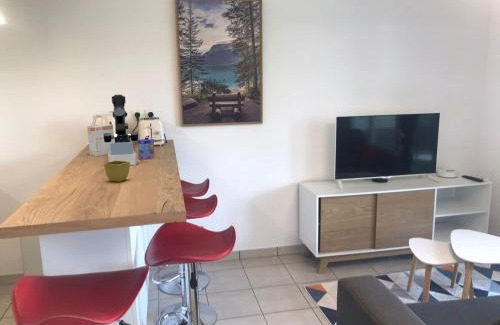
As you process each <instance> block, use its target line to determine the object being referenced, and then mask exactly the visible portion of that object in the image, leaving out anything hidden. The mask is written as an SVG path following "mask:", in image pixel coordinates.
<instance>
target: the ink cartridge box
mask: <svg viewBox="0 0 500 325" xmlns="http://www.w3.org/2000/svg"><path fill="white" fill-rule="evenodd" d="M154 142H155V139H154V138H150V135H146V136H145V137H144V138H142V139H138V141H137V149H138V150H137V151H138V155H137V156H138V160H141V161H147V160H150V159H154V158H155V143H154Z"/></svg>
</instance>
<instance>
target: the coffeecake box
mask: <svg viewBox="0 0 500 325" xmlns="http://www.w3.org/2000/svg"><path fill="white" fill-rule="evenodd" d="M86 128H87V134H88V135H87V136H88V147H89V148H88V150H89V156H90V157H96V158H97V157H103V156H108V153H109V154H110V152H111V148H110V143H115V140H114V139H111V142H104V135H103V134H104V133H111V135H114V125H113V124H109V123H106V124H105V123H104V124H97V125H90V126H89V125H88V126H87V127H86Z"/></svg>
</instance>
